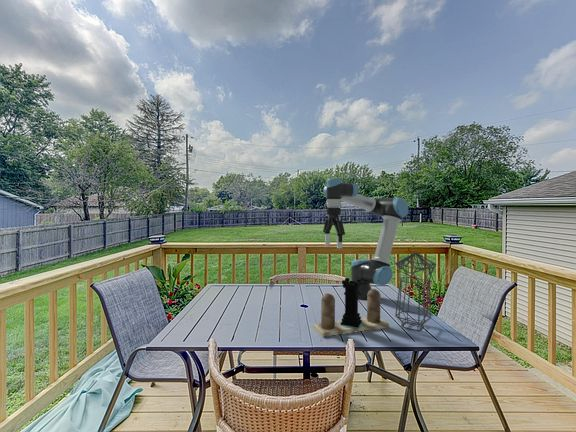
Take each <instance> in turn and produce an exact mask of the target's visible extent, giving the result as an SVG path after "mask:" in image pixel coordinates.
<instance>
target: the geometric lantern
mask: <svg viewBox="0 0 576 432" xmlns="http://www.w3.org/2000/svg"><path fill="white" fill-rule="evenodd" d="M412 259H413V260H412ZM415 259H416V261H417V262H415ZM419 261H420V262H419ZM427 261H428V262H427ZM405 262H407V263H406V264H405ZM429 262H430V263H429ZM409 264H410V265H411V266H410V265H409ZM415 264H417V266H416V265H415ZM394 265H396V267H398V269H399V271H398V272H399V273H398V274H399V277H398V278H399V285H398V293H397V300H396V308H395V314H394V316H395V317H396V318H397V320H398V321H400V322H401V325H400V327H401V328H403V329H407V330H413V331H417V332H419V331H421V330H422V329H423V327H424V325H425V324H426V323H427V322H428V321H430V320H431V319H432V305H431V278H432V275H433V272H434V270H435V269H436V266H437V264H436V263H435V262H434V261H432V260H430V259H429V258H427V257H425V256H423V255H422V254H421V253H420V252H419V253H418V252H416V251H415V252H412V253H411V254H409V255H407V256H405V257H404V258H402V259H400V260H399V261H396V262H394ZM420 265H421V266H423V267H419V266H420ZM407 268H409V269H411V271H407ZM413 269H414V271H413ZM401 270H403V273H404V274H403V277H402V275H401ZM425 270H428V274H427V275H426V272H425ZM421 271H423V273H424V275H425V279H423V278H417V276H416V273H418V272H421ZM407 274H410V276H408V275H407ZM428 276H429V278H428ZM403 279H405V280H403ZM408 279H409V281H408ZM412 279H414V280H416V282H412ZM419 280H421V281H423V282H422V283H420V282H419ZM403 283H404V284H405V285H404V292H403V293H404V295H403V301H401V300H402V287H403V286H402V285H403ZM408 283H409V286H408V299H407V310H405V301H406V294H407V293H406V292H407V284H408ZM412 284H415V285H418V308H417V309H418V312H415V311H411V310H409V309H410V299H411V298H410V297H411V296H410V295H411V285H412ZM425 285H427V286H426V287H427V288H426V290H425ZM421 286H422V291H423V292H422V294H423V295H422V299H423V300H422V302H423V305H422V306H423V307H422V308H423V312H422V313H420V312H421V309H420V307H421ZM425 291H426V299H425ZM425 300H426V302H425ZM401 302H403V303H402V309H401ZM425 303H426V304H425ZM425 305H426V307H425ZM428 307H429V308H428ZM428 310H429V311H428ZM405 312H406V314H405ZM428 312H429V315H428ZM409 313H411V314H415V315H417V319H416V318H415V319H414V318H410V317H408V314H409ZM400 314H403V316H404V317H401V315H400ZM420 315H421V316H423V319H422V320H421V318H420V317H421V316H420ZM426 317H427V319H426ZM405 324H406V325H408V326H409V325H410V326H413V327H417V329H414V328H411V327H410V328H409V327H408V326H407V327H405Z"/></svg>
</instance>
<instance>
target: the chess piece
mask: <svg viewBox="0 0 576 432" xmlns="http://www.w3.org/2000/svg"><path fill="white" fill-rule="evenodd" d="M360 282H361V279H357V281H351V280H350V277H345V278H344V279H343V280H341V284H342V288H343V289H344V292H343V295H344V313H343V315H342V319H341V320H342V322H341V325H345V326H351V327H357V328H358V327H359V326H360V324H361V322H362V320H360V319H361V318H362V316H361V313H360V312H359V299H358V294H359V291H358V288H359V287H360Z"/></svg>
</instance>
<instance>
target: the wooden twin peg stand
mask: <svg viewBox="0 0 576 432" xmlns="http://www.w3.org/2000/svg"><path fill="white" fill-rule="evenodd" d="M335 302H336V299H335V296H334V295H333V294H331V293H325V294H323V295H322V297H321V303H320V304H321V311H320V312H321V314H320V315H321V318H320V319H321V321H320V322H321V323H313V325H312V327H313V330H314V331H315V332H316V333H317V332H318V333H319V334H318V333H317V334H318V335H320V337H322V338H326V337H325V336H329V337H333V336H332V335H336V336H339V335H338V334H342V335H344V334H343V333H349V332H355V331H363V330H369V331H373V330H372V329H376V330H383V329H389V328H390V323H389V322H388V321H386V320H385V319H382V317H381V293H380V291H379V290H377V289H375V288H371V290H369V292H368V294H367V299H366V303H367V304H366V316H365V317H361V319H360V320H362V322H361V324H360V326H359V327H358V328H357V327H351V326H345V325H341V322H342V319H341V320H337V321H336V303H335ZM382 328H383V329H382ZM363 332H364V331H363ZM349 334H350V333H349Z"/></svg>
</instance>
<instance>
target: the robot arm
mask: <svg viewBox="0 0 576 432" xmlns="http://www.w3.org/2000/svg"><path fill="white" fill-rule="evenodd" d="M322 194H323V196H324V197H325V198H326V201H325V202H326V215H325V222H324V226H323V231H322V232H323V233H324V236H325V237H324V246H331V230H332V227H333V226H334V228H335V230H336V231H335V232H336V234H337V235H336V249H343V236H344V235H346V232H345V227H344V223H343V218H342V216H340V215H341V214H342V212H341V211H342V210H341V205H342V203H341V202H344V203H347V204H350V205H352V206H355V207H359V208H361V209H364V210H365V212H367V213H370V214H373V215H377V216H378V217H381V218H382V219H383V221H382V226H381V229H380V233H379V238H378V241H377V246H376V248H375V253H374V256H373V257H372V258H370V259H354V260H352V261H351V266H350V272H351V273H350V279H351V280H350V281H357V279H361V282H360V287H359V288H358V291H359V294H358V300H367V294H368V292H369V290H371V289H372V286H371V284H373V285H374V284H375V285H376V286H386V285H387V284H389V283H390V282H391V281H392V278H393V275H394V274H393V270H392V268H391V263H390V257H391V255H392V254H391V253H392V249H393V246H394V241H395V238H396V237H395V236H396V234H397V233H396V232H397V228H398V225H399V224H400V223H401V222H402V220H403V218H406V217H407V216H408V213H409V205H408V202H407V201H406V200H405V199H404V198H402V197H388V198H387V197H385V198H383V197H381V198H375V197H371V196H370V197H368V196H365V195H362V194H360V193H359V186H358V185H357V183H352V182H342V179H341V178H338V177H331V178H327V180H326V185H325V186H324V188H323V190H322Z"/></svg>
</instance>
